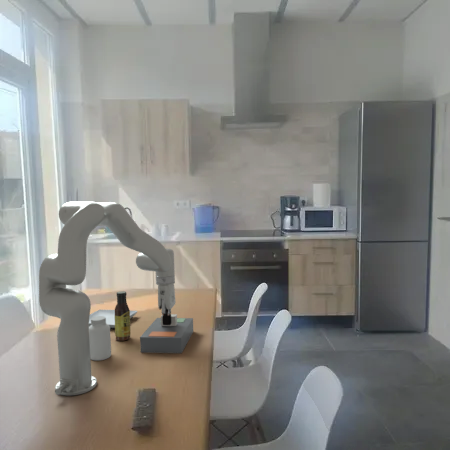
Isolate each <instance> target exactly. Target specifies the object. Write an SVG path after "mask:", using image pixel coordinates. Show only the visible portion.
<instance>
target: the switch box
mask: <svg viewBox="0 0 450 450" xmlns="http://www.w3.org/2000/svg"><path fill="white" fill-rule="evenodd" d="M193 333H194V317H188V318H187V317H177V325H176V326H161V317H156V318H155V320H153V322H152V323H151V324H150V325H149V326H148V327H147V329H146V330H145V331H144V332H143V333H142V334H141V335H140V337H139V341H140V342H139V343H140V345H139V346H140V347H139V348H140V353H147V354H150V353H153V354H154V353H156V354H157V353H158V354H160V353H161V354H182V353H183V351H184V350H185V348H186V346H187V344H188V343H189V341H190V338H191V337H192V335H193Z"/></svg>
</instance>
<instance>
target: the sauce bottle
mask: <svg viewBox="0 0 450 450" xmlns="http://www.w3.org/2000/svg"><path fill="white" fill-rule="evenodd" d="M116 299H117V301H116V305H115V307H114V310H115V328H114V335H115V340H116V341H120V342H124V341H128V340H129V339H131V318H130V310H131V309H130V308H129V305H128V302H127V291H124V290H123V291H117V292H116Z"/></svg>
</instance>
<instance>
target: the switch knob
mask: <svg viewBox="0 0 450 450" xmlns="http://www.w3.org/2000/svg"><path fill="white" fill-rule="evenodd" d="M160 318H161V326H176V325H177V318H178V314H177V313H176V314H172V313H171V324H170V325H163V318H162V315H160Z"/></svg>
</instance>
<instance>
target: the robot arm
mask: <svg viewBox="0 0 450 450" xmlns="http://www.w3.org/2000/svg"><path fill="white" fill-rule="evenodd" d="M58 218H59V221H60V223H62V224H63V226H62V228H61V230H60V231H59V232H60V233H59V236H58V240H57V242H58V244H57V253H52V254H49V255H47V256H46V257H45V258H44V259H43V260H42V262H41V264H40V267H39V271H38V272H39V274H38V304H39V307H40V310H41V311H42V313H44V314H46V315H47V316H50V317H55V318H57V319H60V322H59V325H58V329H57V333H56V334H57V335H56V337H57V338H56V339H57V352H58V365H59V366H58V367H59V368H58V370H59V381H58V382H57V383H56V385H55V386H54V393H55V395H59V396H79V395H82V394H86V393H88V392H90V391H91V390H93V389H94V388H95V387H96V386H97V385H98V380H97V378H96V377H95V376H93V375H92V364H91V363H92V362H91V360H92V359H90V341H89V315H90V314H91V307H92V304H91V300H90V298H89V296H88V295H87V294H86V293H85V292H83V291H81V290H79V289H72V288H70V287H69V288H67V286H79V285H81V284H82V283H83V282H84V281H85V279H86V276H87V246H88V240H89V237H90V235H91V233H92V232H93V231H94V230H95V229H96V227H106V228H108V229H109V230H110V232H111V233H112V235H114V236H115V238H116V239H117V240H118V242H120V244H122V245H123V246H124V247H126V248H128V249H129V250H133V251H136V252H138V254H137V256H136V257H135V264H136V267H137V268H139V269H140V270H143V271H147V272H155V285H157V307H158V309H159V310H161V316H162V318H163V325H170V324H171V314H172V308H173V307H174V306H175V305H176V292H175V284H176V277H175V276H176V275H175V274H176V273H175V272H176V271H175V252H174V250H173V249H171V248H166V247H165V246H164V245H163V244H162V243H161V242H160V241H159V240H158V239H156V238H155V237H153V235H150V234H149V233H147V232H146V231H144V230H142V229H141V228H140V227H139V225H138V224H137V223H136V221H134V218H133V217H132V216H131V215H130V214H129V212H128V211H127V210H126V208H125V207H124V206H123V205H122V204H121V203H119V202H114V201H113V202H111V201H109V202H104V201H103V202H99V201H98V202H95V201H82V200H81V201H67V202H65V203H63V204H62V205H61V206H60V208H59V210H58Z"/></svg>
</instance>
